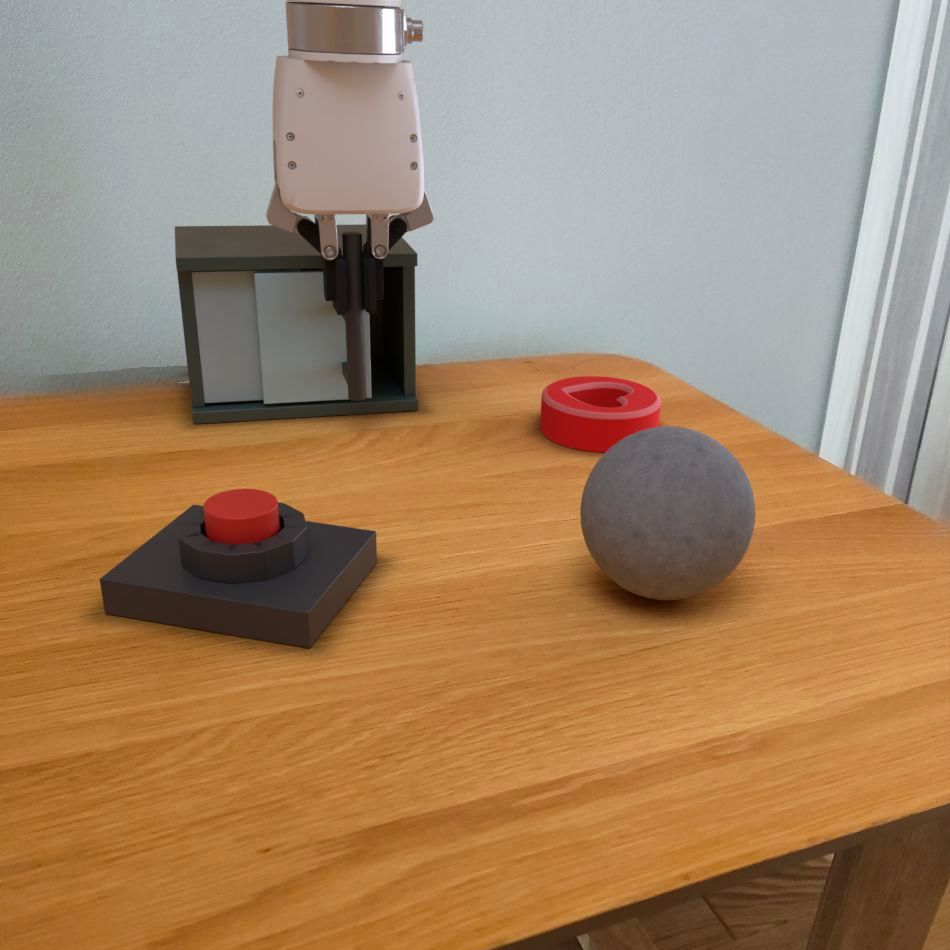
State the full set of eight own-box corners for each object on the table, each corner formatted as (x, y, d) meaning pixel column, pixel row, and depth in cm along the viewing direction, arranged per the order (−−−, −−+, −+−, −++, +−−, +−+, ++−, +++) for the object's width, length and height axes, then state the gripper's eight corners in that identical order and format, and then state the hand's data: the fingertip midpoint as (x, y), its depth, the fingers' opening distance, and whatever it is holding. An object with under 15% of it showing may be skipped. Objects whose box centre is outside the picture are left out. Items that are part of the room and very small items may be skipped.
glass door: (269, 427, 80) (255, 236, 74) (263, 401, 85) (249, 220, 79) (382, 420, 83) (378, 234, 76) (370, 395, 88) (365, 219, 81)
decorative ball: (771, 623, 60) (799, 461, 56) (605, 641, 58) (620, 472, 53) (703, 544, 69) (722, 398, 64) (555, 557, 66) (564, 405, 62)
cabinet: (193, 424, 83) (175, 257, 78) (190, 376, 94) (174, 226, 88) (418, 410, 89) (417, 253, 83) (392, 367, 99) (390, 224, 93)
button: (192, 541, 58) (189, 513, 57) (227, 512, 62) (225, 484, 61) (260, 552, 57) (257, 523, 57) (291, 521, 61) (289, 493, 60)
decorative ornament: (531, 410, 90) (533, 375, 89) (642, 409, 92) (645, 374, 90) (550, 453, 82) (552, 414, 80) (671, 451, 83) (675, 413, 82)
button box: (104, 614, 58) (94, 549, 56) (196, 535, 67) (190, 477, 65) (309, 648, 56) (306, 582, 54) (377, 563, 65) (375, 503, 63)
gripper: (447, 38, 76) (446, 294, 84) (220, 29, 71) (242, 300, 80) (473, 43, 69) (468, 319, 78) (225, 33, 65) (249, 328, 73)
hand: (354, 308), depth 79 cm, fingers closed
